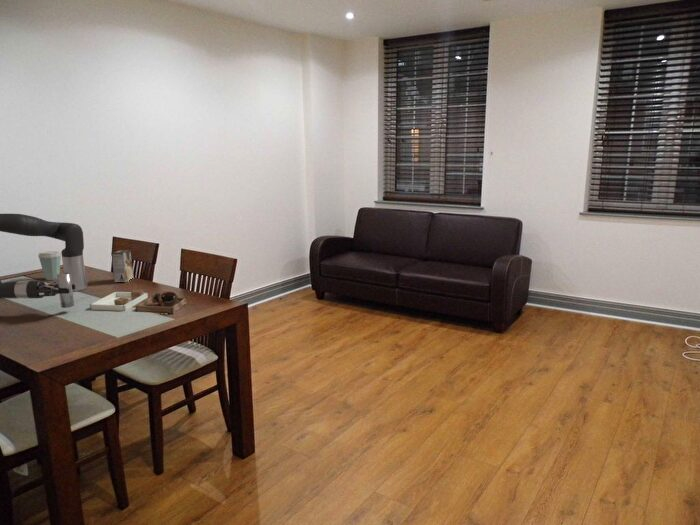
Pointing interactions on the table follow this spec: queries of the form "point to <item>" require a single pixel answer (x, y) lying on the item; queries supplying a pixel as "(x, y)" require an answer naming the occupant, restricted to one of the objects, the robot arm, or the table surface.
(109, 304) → the tray
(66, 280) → the part cylinder
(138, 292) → the walnut block
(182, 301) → the brown wooden tray
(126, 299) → the walnut block
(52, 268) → the disposable coffee cup
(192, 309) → the table surface
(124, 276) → the coffee box
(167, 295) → the pottery mug
